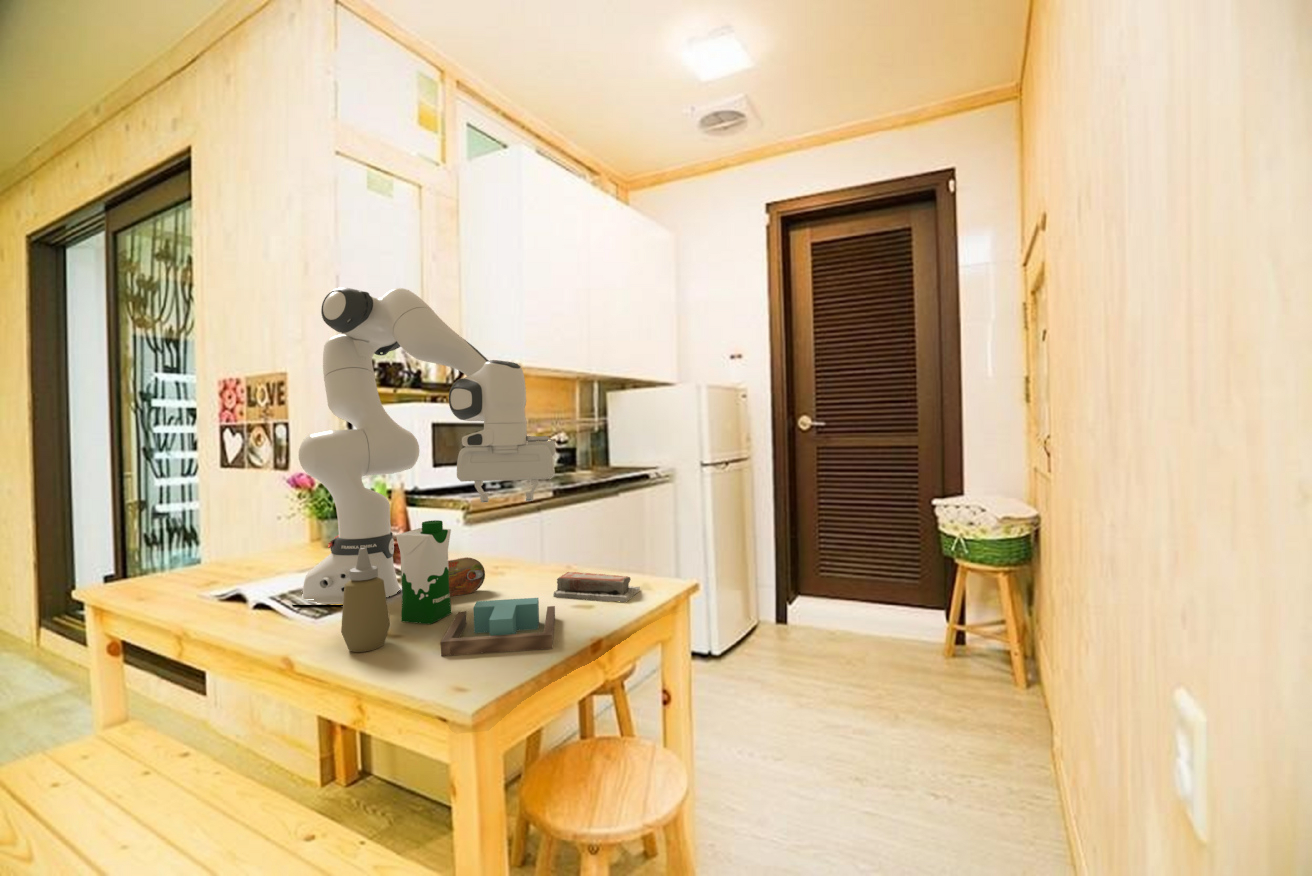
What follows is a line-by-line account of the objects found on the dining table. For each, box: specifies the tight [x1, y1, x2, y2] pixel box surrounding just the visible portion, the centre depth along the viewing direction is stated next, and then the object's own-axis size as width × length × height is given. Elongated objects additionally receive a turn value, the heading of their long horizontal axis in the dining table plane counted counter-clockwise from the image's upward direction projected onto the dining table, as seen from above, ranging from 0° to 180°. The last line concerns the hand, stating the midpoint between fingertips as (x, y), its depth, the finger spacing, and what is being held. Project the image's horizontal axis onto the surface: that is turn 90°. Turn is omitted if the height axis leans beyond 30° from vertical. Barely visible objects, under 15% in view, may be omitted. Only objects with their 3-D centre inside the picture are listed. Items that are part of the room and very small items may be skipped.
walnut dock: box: [440, 605, 556, 657], centre depth 116 cm, size 19×16×2 cm
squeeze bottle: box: [340, 548, 391, 653], centre depth 111 cm, size 8×8×18 cm
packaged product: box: [552, 571, 641, 603], centre depth 142 cm, size 18×5×10 cm
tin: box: [448, 556, 486, 598], centre depth 143 cm, size 15×3×8 cm, turn 119°
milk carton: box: [395, 519, 452, 625], centre depth 127 cm, size 9×9×20 cm
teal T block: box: [473, 597, 540, 636], centre depth 116 cm, size 12×12×5 cm
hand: (507, 501), depth 131 cm, fingers open, 8 cm apart
